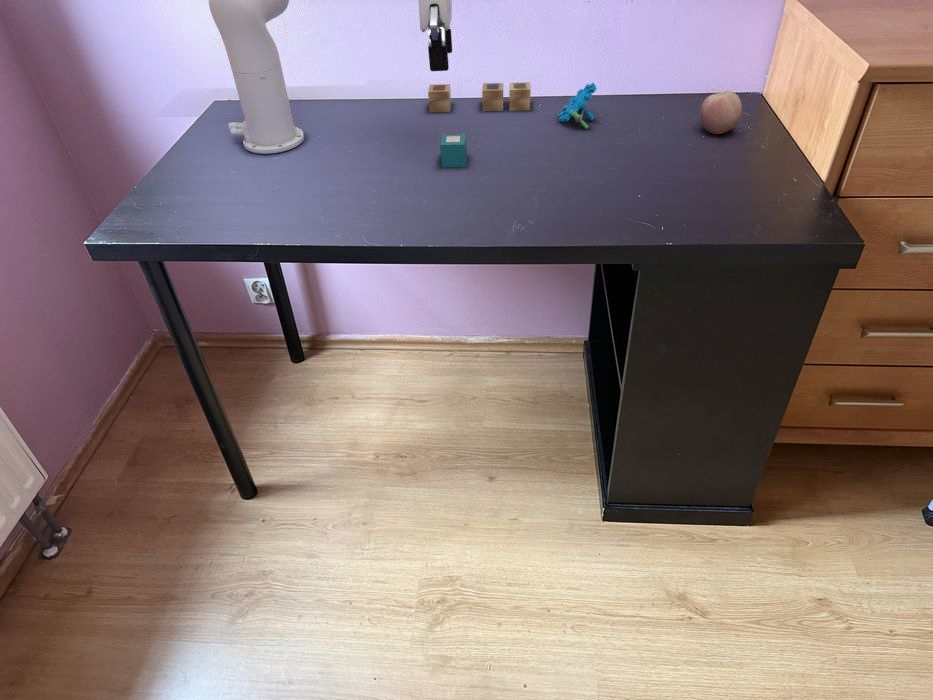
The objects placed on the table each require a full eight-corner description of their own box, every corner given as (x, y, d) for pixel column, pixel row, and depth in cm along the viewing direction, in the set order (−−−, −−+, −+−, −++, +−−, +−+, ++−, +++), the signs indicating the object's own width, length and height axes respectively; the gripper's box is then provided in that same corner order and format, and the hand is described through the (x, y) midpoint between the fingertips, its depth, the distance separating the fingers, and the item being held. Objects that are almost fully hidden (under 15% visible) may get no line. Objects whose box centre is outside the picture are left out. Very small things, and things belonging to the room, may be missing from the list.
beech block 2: (482, 111, 148) (482, 90, 145) (483, 103, 151) (482, 82, 148) (503, 110, 148) (503, 89, 144) (503, 103, 151) (503, 82, 148)
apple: (724, 122, 138) (732, 83, 133) (744, 136, 132) (754, 96, 127) (689, 127, 137) (697, 88, 131) (709, 142, 131) (717, 102, 126)
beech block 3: (509, 110, 147) (509, 89, 144) (509, 103, 151) (509, 82, 148) (530, 110, 147) (530, 89, 144) (529, 102, 151) (530, 81, 148)
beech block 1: (429, 112, 149) (427, 91, 146) (431, 104, 152) (429, 84, 149) (449, 112, 148) (448, 90, 145) (451, 104, 152) (450, 83, 149)
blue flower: (561, 101, 146) (595, 72, 139) (579, 120, 148) (613, 92, 141) (551, 128, 139) (587, 98, 132) (570, 147, 141) (606, 119, 134)
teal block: (441, 167, 127) (440, 144, 124) (443, 157, 131) (442, 134, 128) (465, 167, 127) (464, 143, 124) (466, 156, 130) (465, 133, 127)
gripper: (415, -58, 113) (425, 47, 124) (403, -37, 100) (415, 78, 111) (459, -60, 113) (465, 45, 124) (452, -40, 100) (459, 76, 111)
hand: (441, 61), depth 118 cm, fingers open, 9 cm apart
